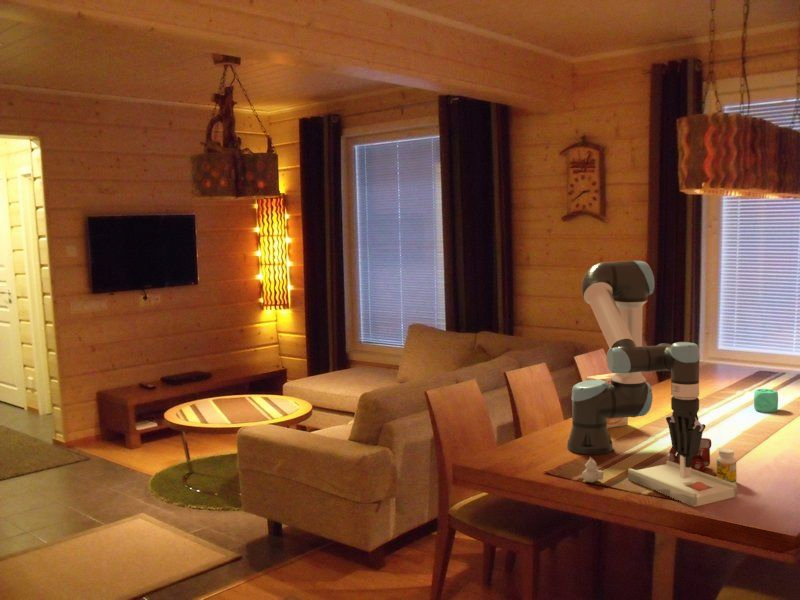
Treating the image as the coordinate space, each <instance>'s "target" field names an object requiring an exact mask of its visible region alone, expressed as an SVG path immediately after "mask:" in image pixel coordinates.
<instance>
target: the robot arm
mask: <svg viewBox="0 0 800 600" xmlns="http://www.w3.org/2000/svg"><path fill="white" fill-rule="evenodd" d="M655 283H656V282H655V275H654V274H653V270H652V269H651V267H650V265H649V264H648V263H647V262H646V261H642V260H635V259H634V260H622V261H618V260H617V261H601V262H599V263H596V264H593V265H592V266H590V268H588V270H587V271H586V272H585V274H584V276H583V278H582V280H581V287H580V288H581V289H580V290H581V295H582V298H583V300H584V301H585V303H587V305H590V307H591V311H592V312H593V314H594V317H595V319H596V321H597V323H598V326H599V328H600V330H601V333H602V335H603V337H604V339H605V341H606V344H607V346H608V348H609V349H608V350H607V352H606V362H607V363H606V364H607V367H608V369H609V371H610V372H611V373H615V374H614V375H613V376H612V377H611V384H607V383H606V382H605V381H603V380H588V381H586V380H584V381H580V382H578V383H576V384H574V385H572V386H573V387H572V389H571V411H572V412H571V415H572V416H571V417H572V418H571V422H572V423H571V424H572V426H571V429H570V433H569V438H568V440H567V449H568V451H571V452H573V453H574V454H575V453H576V454H581V455H604V454H605V455H606V454H608V453H610V452H612V451H613V441H612V439H611V438H612V437H611V435H610V433H609V428H607V418H621V417H628V418H636V417H643V416H647V414H648V413H649V412H650V410H651V408H652V405H653V404H652V403H653V398H654V397H653V396H654V395H653V392H652V391H653V389H652V387H651V385H650V383H649V382H647V378H645V376H644V375H643V374H642V373H645V372H663V371H664V372H665V371H666V372H669V373H670V378H671V379H670V383H671V385H670V386H671V387H670V388H671V389H670V390H671V391H670V392H671V393H670V394H671V396H672V397H671V398H670V402H671V405H670V408H671V410H672V412H671V413H672V414H671V415H670V416H666V417H665V420H666V422H667V425H668V429H669V430H668V431H669V434H670V435H669V436H670V440H671V448H672V447H673V450H674V451H677V453H678V454H679V465H680V477H681V478H683V479H685V478H689V477H691V467H692V456H694V455H698V453H699V448H700V443H701V438H703V433H704V431H705V429H706V424H703V423H701V421H699V416H698V413H699V410H700V398H699V396H700V357H701V356H700V349H699V345H698V344H697V343H694V342H689V341H688V342H687V341H678V342H674V343H672V344H671V343H659V344H657V345H648V346H645V345H644V346H643V306H644V304H646V303H647V302H648V296H650V295H652V294H653V293H654V290H655ZM676 445H677V446H676ZM677 453H676V454H677Z"/></svg>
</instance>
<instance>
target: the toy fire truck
mask: <svg viewBox="0 0 800 600" xmlns="http://www.w3.org/2000/svg"><path fill="white" fill-rule="evenodd" d="M676 446H677V445H676ZM711 448H712V439H710V438H709V437H708V438H707V437H702V438H701V443H700V448H699V453H698V455H694V456H692V467H691V468H692V469H694V470H697V471H700V472H703V471H704V470H705V468H707V467H709V466H710V465H711ZM669 461H672V462H674V463H677V464H679V454H678V453H677V451H674V450H673V447H672V446H671V448H670V450H669Z"/></svg>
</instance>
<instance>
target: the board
mask: <svg viewBox="0 0 800 600" xmlns="http://www.w3.org/2000/svg"><path fill="white" fill-rule="evenodd" d="M627 473H628V474H627V475H628V476H627V481H629V480H630V482H632V481H633V482H632V483H634V482H635V484H637V483H638V484H637V485H639V484H640V485H639V486H642V485H643V486H642V487H644V486H645V488H646V487H648V488H647V489H649V488H651V489H653V490H652V491H654V490H656V491H658V492H657V493H659V492H660V493H659V494H661V493H663V494H665V495H664V496H666V495H667V496H666V497H668V496H670V497H669V498H671V497H672V498H671V499H673V498H674V499H673V500H676V501H678V500H679V501H678V502H680V501H681V503H683V504H685V503H686V505H687V506H689V507H690V506H691V507H693V508H695V507H699V506H700V507H701V506H704V505H707V504H708V505H709V504H712V503H713V504H714V503H716V502H721V501H724V500H728V499H731V498H736V497H737V496H738V489H737V488H738V484H737V483H735V484H734V483H731V482H728V481H726V480H723V479H720V478H717V476H714V475H711V474H708V473H705V472H703V471H702V472H700V471H697V470H694V469H692V468H691V477H689V478H685V479H683V478H681V477H680V465H679V464H677V463H674V462H672V461H670V459H669V460H666V461H665V464H660V465H655V466H651V467H646V468H641V469H634V468H628V469H627ZM696 482H702V483H704V484H705V485H706V487H707V490H702V491H697V490H695V489H692V486H693V484H694V483H696ZM651 489H650V490H651ZM656 491H655V492H656ZM663 494H662V495H663ZM737 498H738V497H737Z"/></svg>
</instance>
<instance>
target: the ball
mask: <svg viewBox="0 0 800 600" xmlns="http://www.w3.org/2000/svg"><path fill="white" fill-rule="evenodd" d="M692 489H695V490H697V491H702V490H707V487H706V485H705V484H704V483H702V482H696V483H694V484H693V486H692Z"/></svg>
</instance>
